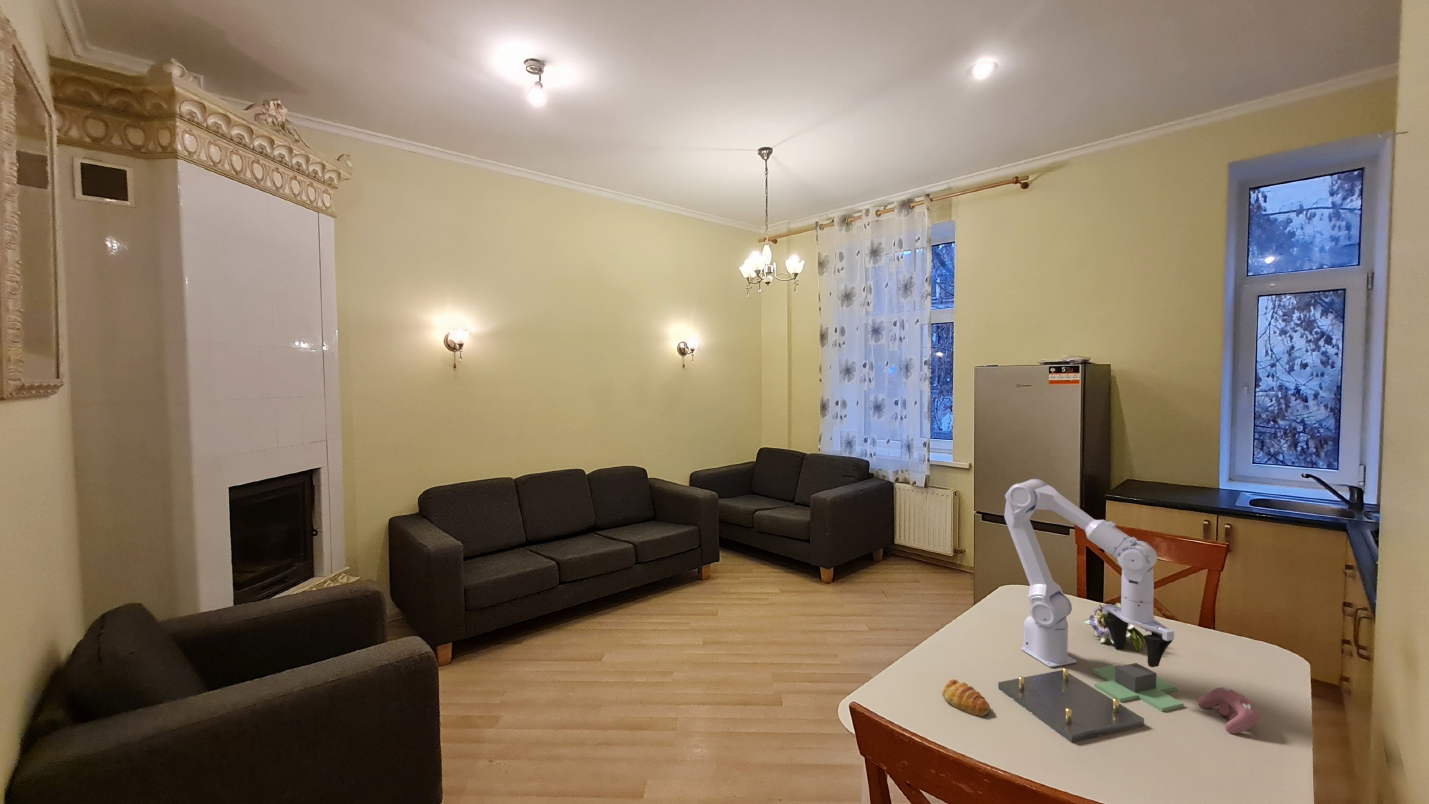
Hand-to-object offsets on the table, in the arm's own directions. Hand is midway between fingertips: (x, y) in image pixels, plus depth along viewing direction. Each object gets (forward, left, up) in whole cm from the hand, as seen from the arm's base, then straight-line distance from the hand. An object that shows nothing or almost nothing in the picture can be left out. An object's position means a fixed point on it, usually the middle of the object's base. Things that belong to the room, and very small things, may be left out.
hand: (1136, 657), depth 124 cm
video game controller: (+14, +7, -8) cm, 17 cm away
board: (0, 0, -7) cm, 7 cm away
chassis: (+1, -20, -7) cm, 21 cm away
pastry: (-6, -40, -8) cm, 41 cm away
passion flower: (-18, +16, -7) cm, 25 cm away
